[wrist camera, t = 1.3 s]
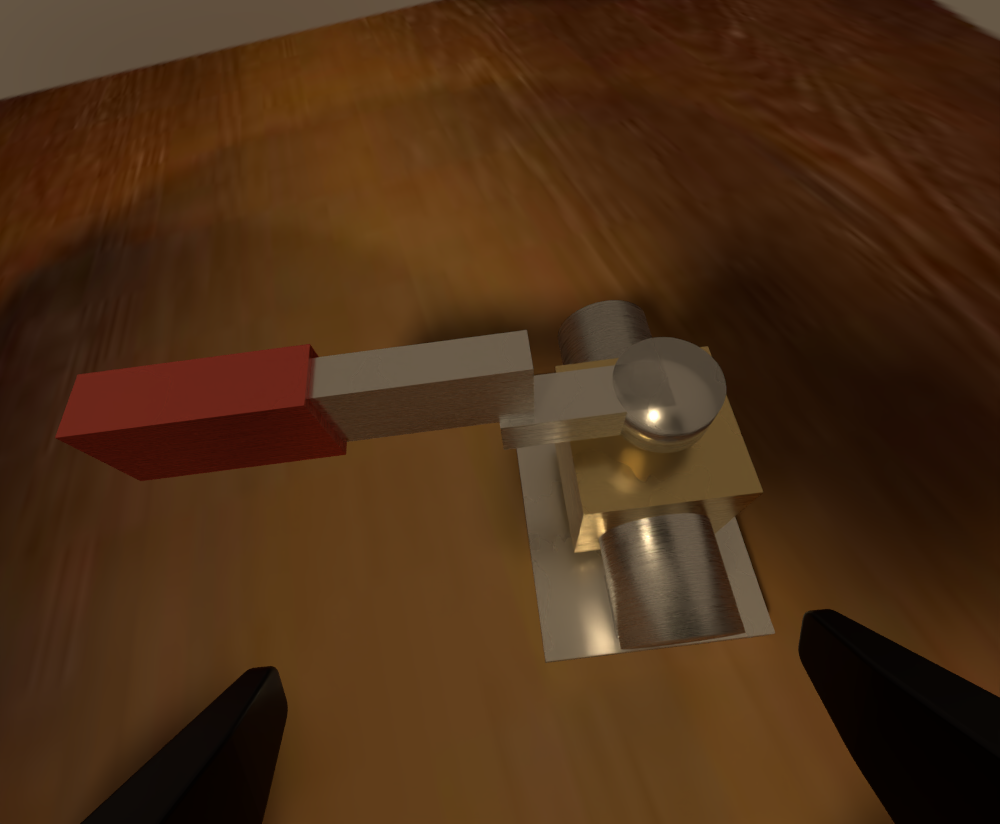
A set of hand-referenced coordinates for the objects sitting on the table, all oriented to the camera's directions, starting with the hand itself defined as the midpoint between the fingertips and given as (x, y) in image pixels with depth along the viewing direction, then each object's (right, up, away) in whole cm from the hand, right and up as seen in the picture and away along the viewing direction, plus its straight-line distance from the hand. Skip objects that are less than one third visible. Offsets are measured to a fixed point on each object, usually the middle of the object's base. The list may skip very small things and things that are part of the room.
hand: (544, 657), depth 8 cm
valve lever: (-3, +3, +7) cm, 9 cm away
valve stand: (+5, 0, +15) cm, 16 cm away
